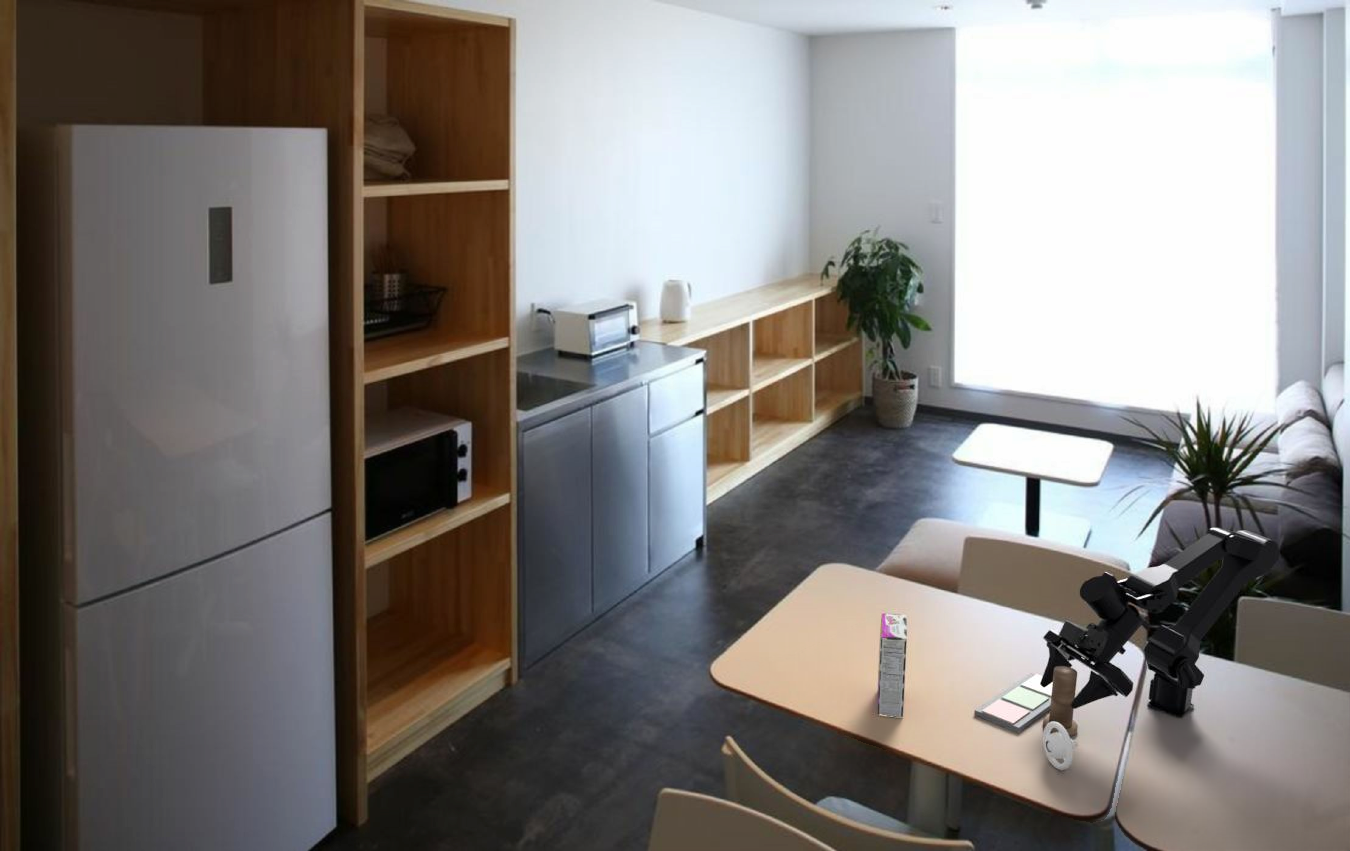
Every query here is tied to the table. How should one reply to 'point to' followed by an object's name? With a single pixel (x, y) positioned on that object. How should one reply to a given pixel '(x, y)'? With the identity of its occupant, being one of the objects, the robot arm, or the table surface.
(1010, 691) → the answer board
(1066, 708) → the brown wooden peg
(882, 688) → the candy bar box
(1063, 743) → the ring around a ball
